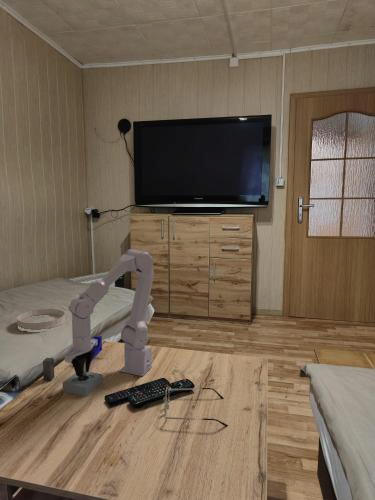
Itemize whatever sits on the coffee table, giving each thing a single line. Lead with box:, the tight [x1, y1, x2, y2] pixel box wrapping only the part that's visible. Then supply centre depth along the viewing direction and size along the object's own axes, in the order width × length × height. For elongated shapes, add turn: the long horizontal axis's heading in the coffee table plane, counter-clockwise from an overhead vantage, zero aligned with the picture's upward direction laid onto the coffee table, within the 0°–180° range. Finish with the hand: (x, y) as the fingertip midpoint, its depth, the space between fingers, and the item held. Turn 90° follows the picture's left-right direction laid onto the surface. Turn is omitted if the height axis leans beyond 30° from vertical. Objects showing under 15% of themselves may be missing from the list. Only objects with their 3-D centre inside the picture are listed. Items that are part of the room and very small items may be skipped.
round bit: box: [78, 360, 86, 381], centre depth 111 cm, size 3×3×7 cm
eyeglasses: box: [163, 386, 229, 427], centre depth 100 cm, size 16×19×5 cm
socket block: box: [62, 371, 103, 397], centre depth 112 cm, size 9×9×3 cm
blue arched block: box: [92, 335, 103, 361], centre depth 135 cm, size 12×4×6 cm, turn 173°
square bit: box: [42, 357, 55, 382], centre depth 116 cm, size 3×3×7 cm
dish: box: [16, 308, 66, 330], centre depth 168 cm, size 22×22×5 cm
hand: (82, 373), depth 112 cm, fingers closed on round bit, 3 cm apart
